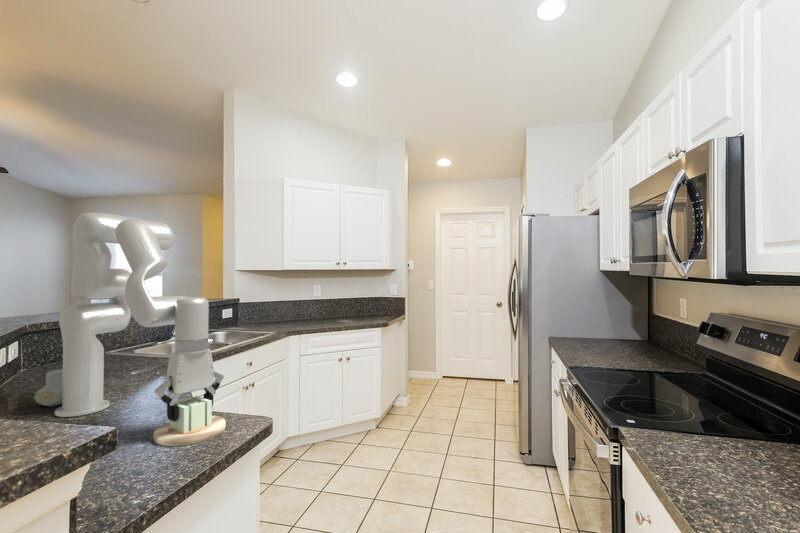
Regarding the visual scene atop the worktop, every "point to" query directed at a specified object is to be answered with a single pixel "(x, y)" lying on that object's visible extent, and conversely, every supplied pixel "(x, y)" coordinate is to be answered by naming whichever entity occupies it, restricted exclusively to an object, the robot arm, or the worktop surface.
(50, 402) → the air freshener
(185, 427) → the collar
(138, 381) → the worktop surface
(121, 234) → the robot arm
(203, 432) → the post base
